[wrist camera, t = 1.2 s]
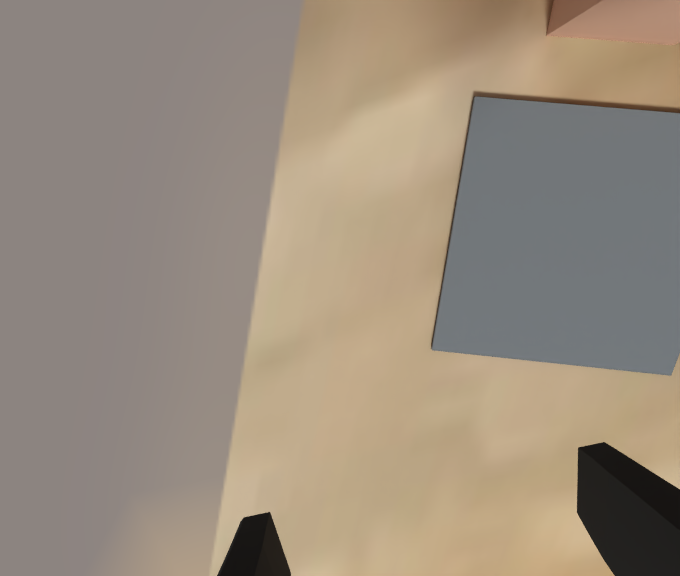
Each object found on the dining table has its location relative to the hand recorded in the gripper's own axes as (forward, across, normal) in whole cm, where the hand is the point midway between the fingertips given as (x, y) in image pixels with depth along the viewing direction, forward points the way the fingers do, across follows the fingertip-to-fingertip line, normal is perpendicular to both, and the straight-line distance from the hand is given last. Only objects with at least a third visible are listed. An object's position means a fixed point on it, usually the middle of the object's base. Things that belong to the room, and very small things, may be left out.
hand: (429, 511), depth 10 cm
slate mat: (+11, -10, -1) cm, 15 cm away
